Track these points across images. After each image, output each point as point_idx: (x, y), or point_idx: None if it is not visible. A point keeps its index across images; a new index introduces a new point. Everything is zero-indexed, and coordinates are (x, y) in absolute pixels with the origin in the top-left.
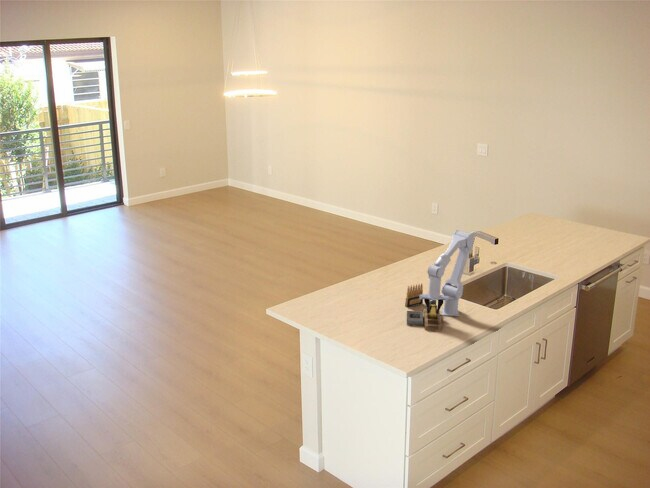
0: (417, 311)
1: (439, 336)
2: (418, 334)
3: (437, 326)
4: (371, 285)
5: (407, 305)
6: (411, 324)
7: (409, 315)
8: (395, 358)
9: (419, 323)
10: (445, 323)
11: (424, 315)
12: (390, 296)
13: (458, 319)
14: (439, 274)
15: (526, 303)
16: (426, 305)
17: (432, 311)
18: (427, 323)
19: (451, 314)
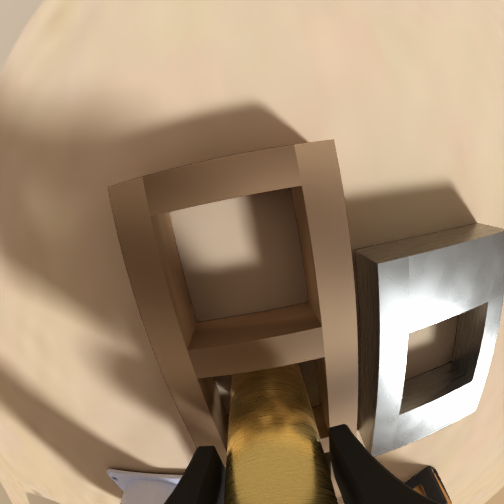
0: (408, 443)
1: (138, 52)
2: (354, 34)
3: (159, 172)
4: (482, 494)
5: (432, 474)
6: (453, 230)
7: (482, 347)
8: None
9: (398, 248)
10: (138, 373)
11: (354, 420)
12: (460, 488)
13: (89, 438)
14: None
15: (13, 499)
16: (419, 499)
17: (281, 453)
18: (313, 209)
19: (146, 481)
